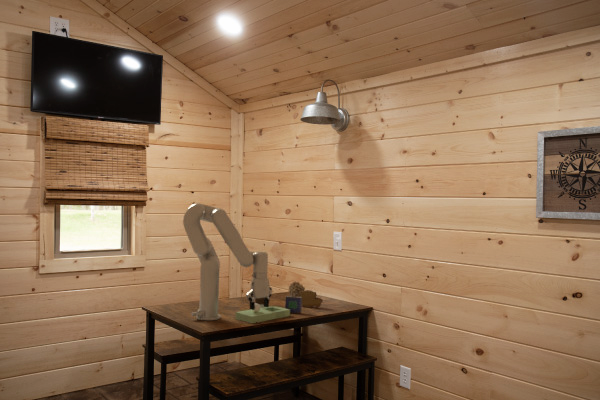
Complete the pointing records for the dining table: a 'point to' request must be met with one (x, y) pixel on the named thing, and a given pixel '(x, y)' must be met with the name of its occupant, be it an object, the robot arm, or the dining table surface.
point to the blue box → (293, 304)
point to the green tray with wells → (262, 314)
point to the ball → (256, 308)
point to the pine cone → (296, 288)
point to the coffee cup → (261, 301)
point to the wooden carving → (310, 299)
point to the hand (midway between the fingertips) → (259, 308)
